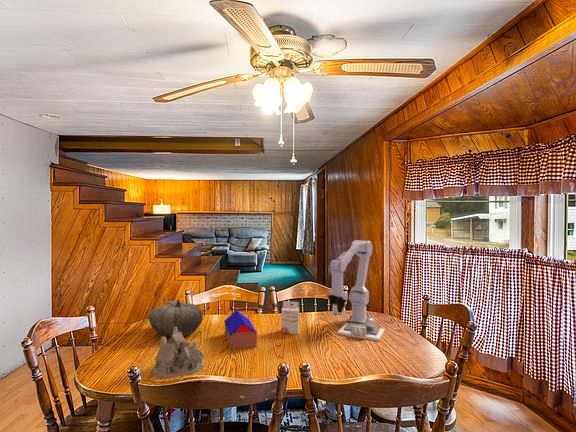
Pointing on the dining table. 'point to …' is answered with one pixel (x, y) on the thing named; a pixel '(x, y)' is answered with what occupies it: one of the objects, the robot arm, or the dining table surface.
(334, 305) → the spacer
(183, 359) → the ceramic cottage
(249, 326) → the house
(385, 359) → the dining table surface
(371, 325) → the spacer
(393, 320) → the dining table surface
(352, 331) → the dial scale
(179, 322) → the gourd
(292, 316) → the ink cartridge box
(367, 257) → the robot arm
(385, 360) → the dining table surface
